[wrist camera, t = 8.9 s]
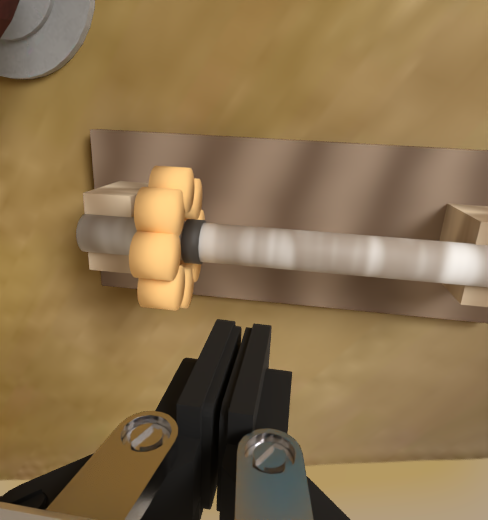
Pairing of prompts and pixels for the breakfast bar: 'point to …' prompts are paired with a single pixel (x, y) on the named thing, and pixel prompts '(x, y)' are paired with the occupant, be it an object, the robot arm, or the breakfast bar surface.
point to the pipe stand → (306, 220)
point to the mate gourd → (41, 35)
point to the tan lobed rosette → (164, 238)
